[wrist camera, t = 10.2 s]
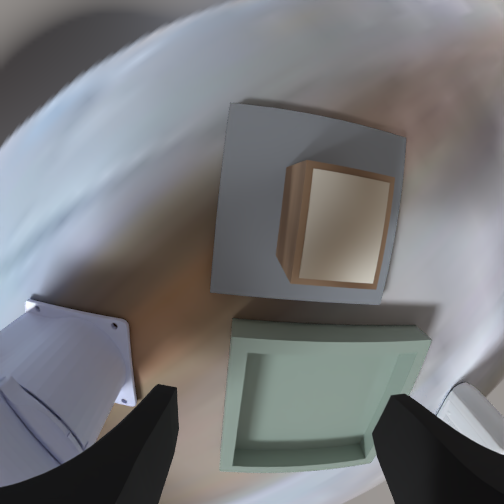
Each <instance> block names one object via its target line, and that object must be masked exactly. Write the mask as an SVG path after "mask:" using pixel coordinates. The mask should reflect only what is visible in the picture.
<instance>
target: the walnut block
mask: <svg viewBox="0 0 504 504" xmlns="http://www.w3.org/2000/svg"><path fill="white" fill-rule="evenodd" d="M394 183H395V177H391V176H387V175H382V174H378V173H374V172H369V171H364V170H359V169H354V168H349V167H344V166H339V165H334V164H328V163H322V162H316V161H310V160H305V161H302V162H300V163H297V164H294V165H291V166H289V167H286V174H285V183H284V192H283V200H282V208H281V217H280V225H279V233H278V241H277V248H276V257H277V259H278V261H279V263H280V265H281V267H282V268H283V270H284V272H285V274H286V276H287V278H288V280H289V282H290V284H300V285H313V286H327V287H341V288H356V289H372V290H376V289H377V284H378V280H379V275H380V270H381V266H382V261H383V256H384V250H385V245H386V239H387V233H388V227H389V221H390V214H391V207H392V200H393V192H394Z"/></svg>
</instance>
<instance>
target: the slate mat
mask: <svg viewBox="0 0 504 504" xmlns="http://www.w3.org/2000/svg"><path fill="white" fill-rule="evenodd" d="M405 151H406V138H405V137H402V136H399V135H395V134H392V133H389V132H385V131H382V130H378V129H375V128H371V127H367V126H363V125H359V124H355V123H351V122H347V121H343V120H338V119H334V118H329V117H324V116H319V115H314V114H309V113H303V112H298V111H292V110H285V109H279V108H272V107H264V106H256V105H248V104H238V103H230V107H229V114H228V122H227V130H226V137H225V145H224V154H223V162H222V171H221V180H220V189H219V198H218V208H217V218H216V228H215V239H214V250H213V262H212V274H211V287H210V293H220V294H230V295H240V296H251V297H262V298H274V299H287V300H300V301H315V302H331V303H349V304H371V305H380V303H381V299H382V295H383V291H384V287H385V282H386V278H387V273H388V269H389V264H390V259H391V254H392V249H393V244H394V238H395V233H396V227H397V221H398V214H399V207H400V200H401V192H402V183H403V174H404V163H405ZM305 160H310V161H316V162H322V163H328V164H334V165H339V166H344V167H349V168H354V169H359V170H364V171H369V172H374V173H378V174H382V175H387V176H391V177H395V183H394V192H393V200H392V207H391V214H390V221H389V227H388V233H387V239H386V245H385V250H384V256H383V261H382V266H381V270H380V275H379V280H378V284H377V289H376V290H372V289H356V288H341V287H327V286H313V285H300V284H290V282H289V280H288V278H287V276H286V274H285V272H284V270H283V268H282V267H281V265H280V263H279V261H278V259H277V257H276V248H277V241H278V233H279V225H280V217H281V208H282V200H283V192H284V183H285V174H286V167H289V166H291V165H294V164H297V163H300V162H302V161H305Z"/></svg>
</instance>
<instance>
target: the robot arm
mask: <svg viewBox="0 0 504 504" xmlns="http://www.w3.org/2000/svg"><path fill="white" fill-rule="evenodd" d="M38 307H39V308H40V310H39V308H38ZM25 309H26V313H24V314H23V315H22V316H20V317H19V318H17V319H16V320H15V321H13V322H12V323H11V324H9V325H8V326H6V327H5V328H4V329H2V330H1V331H0V504H158V503H159V500H160V496H161V493H162V490H163V487H164V484H165V481H166V478H167V475H168V472H169V468H170V465H171V462H172V459H173V456H174V452H175V447H176V441H177V436H178V431H179V423H178V404H177V387H171V386H165V385H160V384H158V385H156V386H155V387H154V388H153V389H152V390H151V391H150V392H149V394H148V395H147V396H146V397H145V398H144V399H143V400H142V401H141V402H140V403H139V404H138V405H137V406H136V407H135V408H134V409H133V410H132V411H131V412H130V413H129V414H128V415H127V416H126V417H125V418H124V419H123V420H122V421H121V422H120V423H119V424H118V425H117V426H115V427H114V428H113V429H112V430H111V431H110V432H108V433H107V434H106V435H105V436H103V437H102V438H101V439H100V440H99V441H97V442H96V440H97V437H98V435H99V433H100V431H101V429H102V427H103V425H104V423H105V421H106V419H107V417H108V415H109V413H110V411H111V409H112V407H113V405H114V403H119V404H123V405H127V406H135V405H136V403H137V398H136V390H135V383H134V375H133V366H132V356H131V346H130V333H129V324H128V323H127V321H126V320H124V319H120V318H115V317H109V316H104V315H98V314H93V313H88V312H83V311H79V310H74V309H69V308H65V307H60V306H56V305H52V304H48V303H43V302H39V301H35V300H32V299H28V300H27V301H25ZM113 323H115V324H117V326H118V327H115V326H114V325H113ZM124 399H126V400H124ZM372 437H373V442H374V446H375V450H376V454H377V458H378V460H379V463H380V466H381V468H382V471H383V473H384V476H385V478H386V481H387V484H388V486H389V489H390V491H391V494H392V496H393V499H394V502H395V504H504V455H503V454H500V453H497V452H495V451H493V450H490V449H488V448H486V447H484V446H482V445H480V444H478V443H476V442H475V441H473V440H471V439H469V438H468V437H466V436H465V435H463V434H461V433H460V432H458V431H457V430H455V429H454V428H452V427H451V426H449V425H448V424H447V423H445V422H444V421H442V420H441V419H440V418H438V417H437V416H436V415H434V414H433V413H432V412H430V411H429V410H428V409H426V408H425V407H424V406H422V405H421V404H419V403H418V402H417V401H415V400H414V399H412V398H411V397H410V396H408V395H406V394H396V395H391V396H390V398H389V400H388V403H387V405H386V407H385V409H384V411H383V413H382V415H381V417H380V419H379V421H378V422H377V424H376V426H375V428H374V430H373V432H372ZM95 442H96V443H95Z"/></svg>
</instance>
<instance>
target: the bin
mask: <svg viewBox="0 0 504 504" xmlns="http://www.w3.org/2000/svg"><path fill="white" fill-rule="evenodd" d="M431 341H432V339H431V338H429V337H428V336H427V335H426V334H425V333H424V332H423V331H422V330H420V329H419V328H418V327H417V326H416V325H333V324H309V323H291V322H275V321H262V320H249V319H238V318H233V320H232V330H231V340H230V350H229V361H228V371H227V382H226V393H225V404H224V415H223V426H222V438H221V450H220V471H226V472H246V473H284V472H304V471H317V470H327V469H335V468H343V467H350V466H356V465H362V464H368V463H371V462H372V461H373V459H374V457H375V456H376V450H375V446H374V442H373V437H372V432H373V430H374V428H375V426H376V424H377V422H378V421H379V419H380V417H381V415H382V413H383V411H384V409H385V407H386V405H387V403H388V400H389V398H390V396H391V395H396V394H406V395H408V396H409V394H410V392H411V389H412V387H413V385H414V383H415V381H416V378H417V376H418V374H419V371H420V369H421V367H422V364H423V362H424V359H425V357H426V354H427V352H428V349H429V346H430V344H431Z"/></svg>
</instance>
